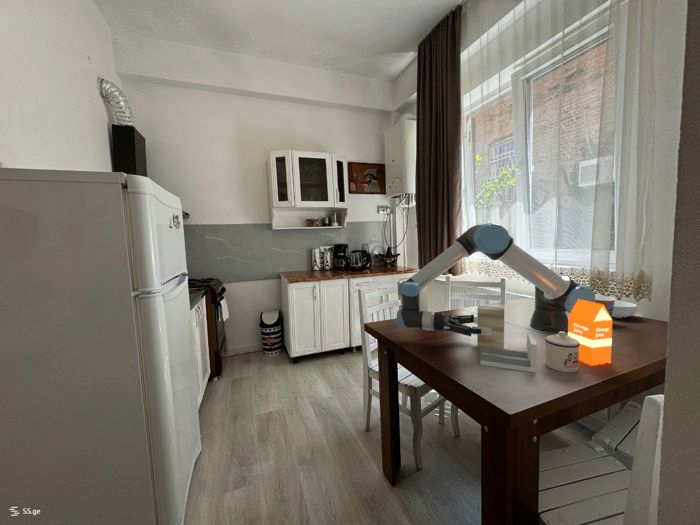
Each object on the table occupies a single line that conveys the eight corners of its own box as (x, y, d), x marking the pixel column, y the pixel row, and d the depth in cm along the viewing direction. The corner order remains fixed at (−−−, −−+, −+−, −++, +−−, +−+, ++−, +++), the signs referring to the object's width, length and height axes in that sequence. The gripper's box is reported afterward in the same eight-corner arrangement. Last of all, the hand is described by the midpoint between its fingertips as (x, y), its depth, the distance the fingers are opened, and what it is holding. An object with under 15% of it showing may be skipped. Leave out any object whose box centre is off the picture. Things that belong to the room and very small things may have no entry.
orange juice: (591, 365, 95) (593, 305, 93) (566, 355, 103) (568, 299, 102) (611, 363, 96) (613, 303, 94) (585, 353, 105) (587, 298, 103)
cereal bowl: (646, 320, 138) (647, 306, 138) (610, 321, 139) (611, 307, 138) (615, 311, 155) (616, 298, 155) (583, 312, 156) (583, 299, 155)
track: (480, 364, 98) (480, 338, 98) (481, 352, 108) (481, 328, 107) (536, 372, 91) (536, 344, 91) (531, 359, 101) (532, 333, 100)
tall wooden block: (477, 345, 116) (477, 305, 114) (503, 348, 112) (503, 307, 110) (477, 349, 112) (477, 308, 110) (503, 352, 108) (504, 309, 106)
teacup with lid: (568, 376, 88) (569, 338, 87) (538, 364, 97) (539, 330, 96) (590, 367, 94) (591, 332, 93) (559, 357, 102) (560, 324, 101)
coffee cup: (607, 327, 131) (608, 301, 130) (581, 321, 141) (582, 297, 140) (619, 323, 136) (620, 298, 135) (593, 318, 145) (594, 294, 144)
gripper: (439, 322, 131) (491, 326, 122) (428, 340, 109) (491, 347, 100) (439, 305, 131) (491, 309, 121) (428, 320, 108) (491, 326, 99)
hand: (491, 326), depth 111 cm, fingers open, 13 cm apart
